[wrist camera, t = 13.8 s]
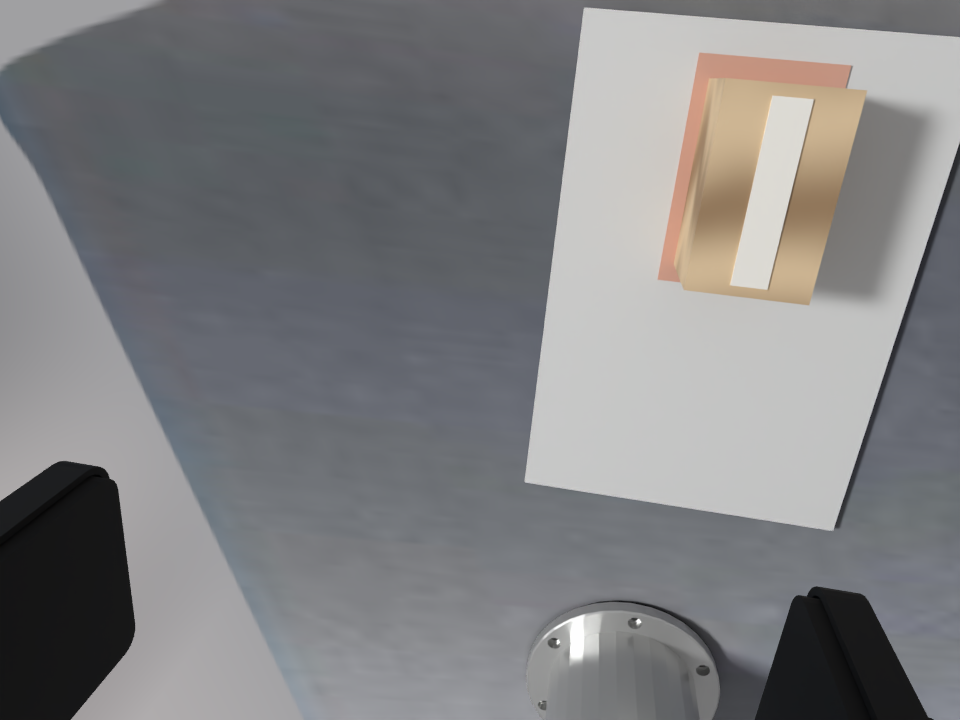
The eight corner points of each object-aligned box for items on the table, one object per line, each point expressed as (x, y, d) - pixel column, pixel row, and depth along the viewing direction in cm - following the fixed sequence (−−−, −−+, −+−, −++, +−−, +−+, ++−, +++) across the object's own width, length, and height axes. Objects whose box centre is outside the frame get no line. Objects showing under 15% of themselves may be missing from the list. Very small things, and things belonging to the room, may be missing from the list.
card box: (708, 78, 34) (726, 78, 29) (830, 89, 33) (868, 90, 28) (673, 264, 37) (683, 290, 32) (783, 276, 36) (809, 306, 32)
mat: (830, 525, 42) (833, 532, 41) (525, 478, 44) (524, 483, 43) (987, 40, 32) (994, 39, 31) (584, 8, 34) (583, 7, 33)
